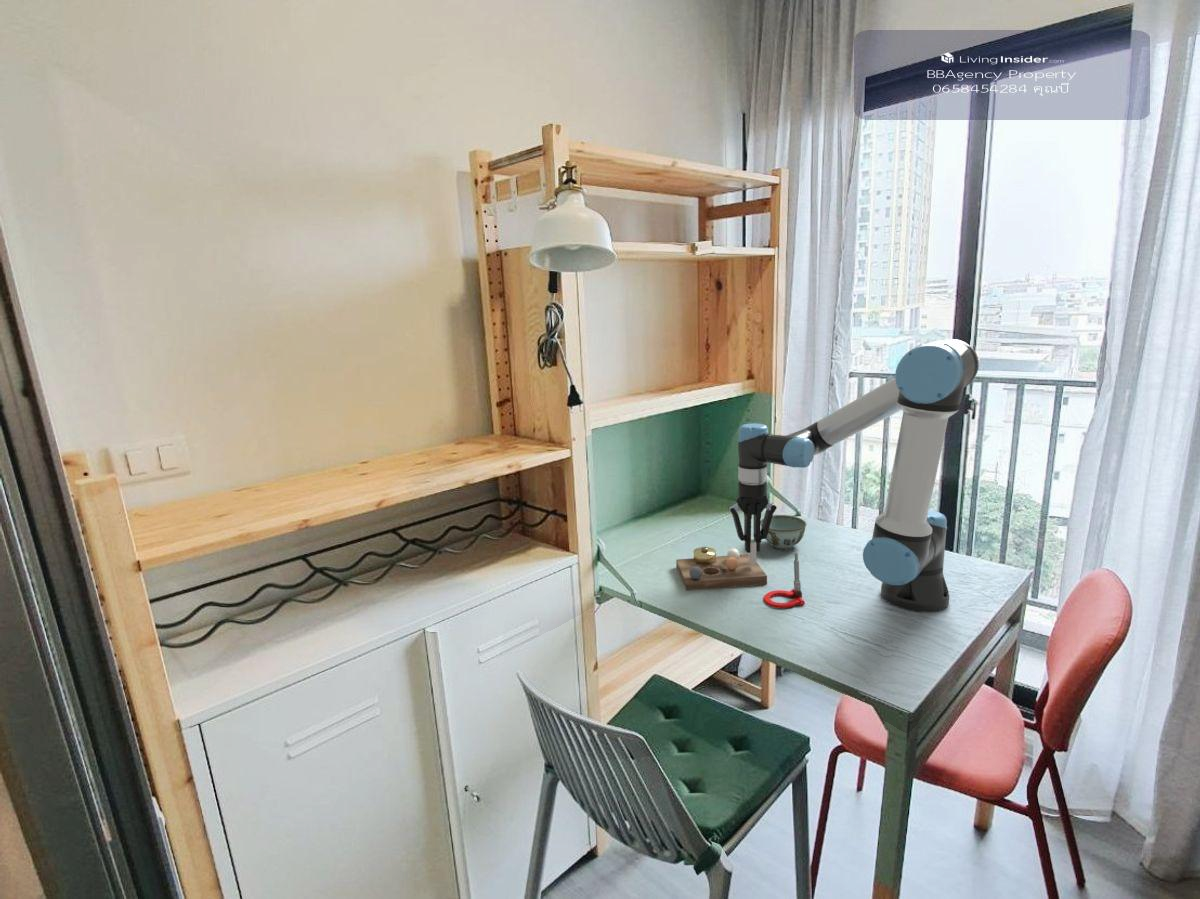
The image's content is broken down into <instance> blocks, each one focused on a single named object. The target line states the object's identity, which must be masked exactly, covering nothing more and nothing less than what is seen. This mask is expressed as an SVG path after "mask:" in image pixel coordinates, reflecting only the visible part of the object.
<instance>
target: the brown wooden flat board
mask: <svg viewBox="0 0 1200 899" xmlns="http://www.w3.org/2000/svg"><path fill="white" fill-rule="evenodd" d="M727 559H728V556H727V555H719V556H717V555H716V561H715V562H714V563H711V564H700V563H697V562H695V561H694V557H692V558H690V557H689V558H679V559H678V558H677V559H676V561H675V563H676V564H675V565H676V569H677V572H678V574H679V576H680V579H681V582H682V584H683V586H684V588H685V591H697V590H708V589H709V590H710V589H711V590H713V589H724V588H737V587H749V586H750V587H751V586H762V585H763V586H764V585H767V584H768V575H767V574H766V572H764V570H763V568H762V567H761V566H760V565H759V564H758V562H757V561H756V565H751V564H750V563H749V561H748V553H745V554H740V556H739V558H738V563H739V565H738V568H737V569H735V570H730V569H728V568H727V567H726V560H727ZM694 566H698V567H700V568H701V570H702V576H701V578H699V579H693V578H691V576H690V574H689V571H690V569H691V568H692V567H694Z"/></svg>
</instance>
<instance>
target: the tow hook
mask: <svg viewBox="0 0 1200 899" xmlns="http://www.w3.org/2000/svg"><path fill="white" fill-rule="evenodd" d="M798 554H799V553H798V552H794V560H793V572H794V573H793V574H794V575H793V576H794V580H793V589H791V590H781V589H780V590H779V589H778V590H771V591H769V592H767V593H765V594H764V596H763V602H764V603H765V604H766V605H767V606H769V607H773V608H775V609H790V608H792V607H795V606H797V605H800V606H801V607H802V606H804V605H805V604H806V602H805V600H804V599H803V591H801V590H802V589H801V588H802V587H801V586H802V585H801V580H800V561H799V558H798V557H799V555H798ZM775 596H783V597H785V596H786V597H788V598H791V600H790V601H788V602H776V601H774V600H772V598H773V597H775Z"/></svg>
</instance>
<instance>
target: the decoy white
mask: <svg viewBox="0 0 1200 899" xmlns="http://www.w3.org/2000/svg"><path fill="white" fill-rule="evenodd" d="M740 555H741V553H740V551H739V550H738V549H736V548H735V547H734V548H730V549H728V551H727V555H726V556H728V558H730V557H734V558H736V559H737V560H738V558H739V556H740Z"/></svg>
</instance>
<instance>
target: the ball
mask: <svg viewBox="0 0 1200 899" xmlns="http://www.w3.org/2000/svg"><path fill="white" fill-rule="evenodd" d="M738 565H739V563H738V560H737V559H736V558H734V557H730V558H728V559H727V560H726V567H727V568H728V569H730V570H735V569H737V568H738Z"/></svg>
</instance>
